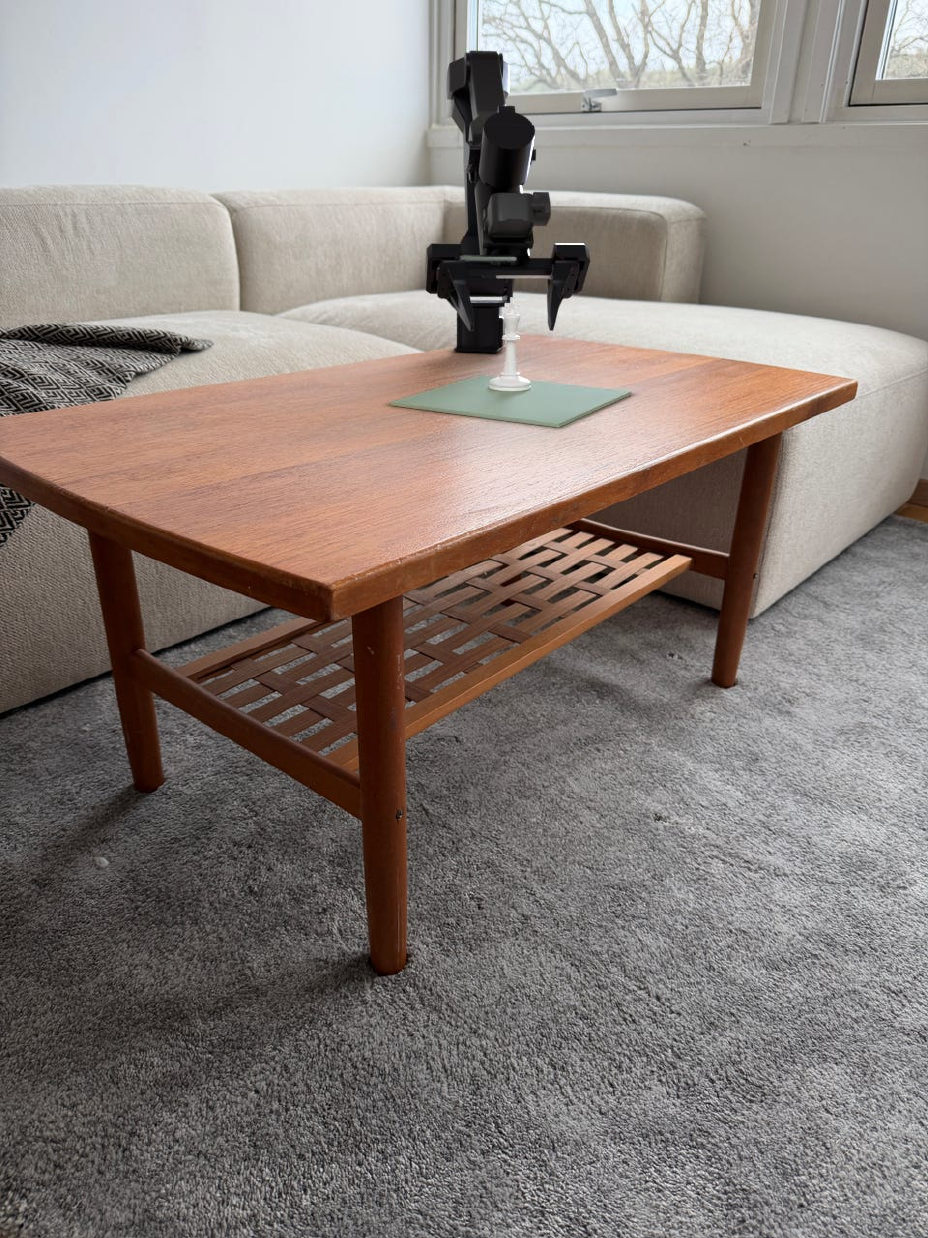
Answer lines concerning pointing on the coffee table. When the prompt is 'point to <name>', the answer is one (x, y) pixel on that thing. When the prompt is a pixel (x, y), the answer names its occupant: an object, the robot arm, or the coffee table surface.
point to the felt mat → (515, 401)
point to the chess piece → (510, 355)
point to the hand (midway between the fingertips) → (512, 328)
